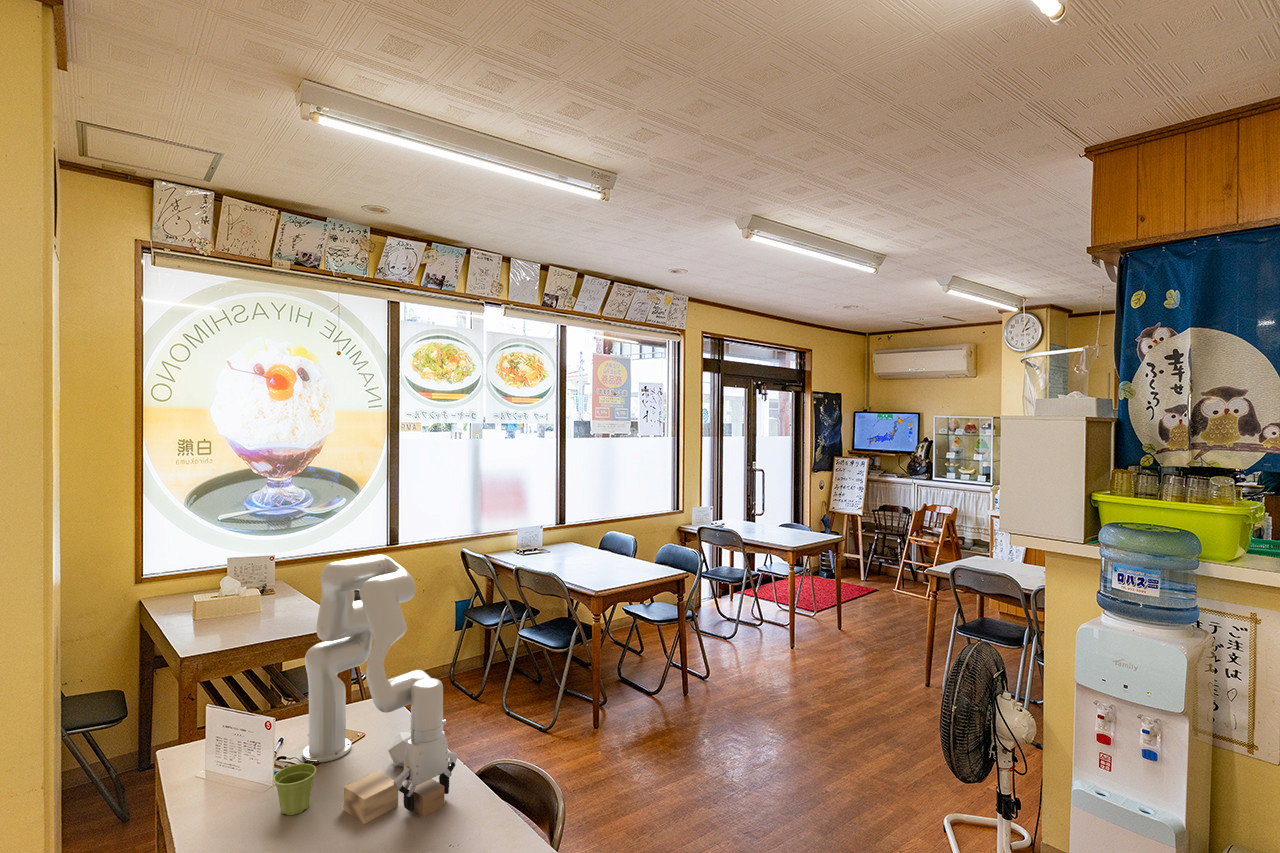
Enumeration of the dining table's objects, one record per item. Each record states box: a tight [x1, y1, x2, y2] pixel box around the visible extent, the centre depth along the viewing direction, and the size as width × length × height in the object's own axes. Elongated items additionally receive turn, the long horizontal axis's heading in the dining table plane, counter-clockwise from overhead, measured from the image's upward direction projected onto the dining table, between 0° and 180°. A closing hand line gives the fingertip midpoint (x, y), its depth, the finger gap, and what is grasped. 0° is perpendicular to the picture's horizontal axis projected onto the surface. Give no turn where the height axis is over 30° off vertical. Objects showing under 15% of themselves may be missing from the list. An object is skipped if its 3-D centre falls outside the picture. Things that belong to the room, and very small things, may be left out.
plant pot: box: [272, 763, 317, 816], centre depth 161 cm, size 9×9×9 cm
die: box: [387, 731, 411, 767], centre depth 182 cm, size 8×9×10 cm
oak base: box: [343, 770, 399, 825], centre depth 162 cm, size 9×9×6 cm
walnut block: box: [412, 778, 445, 818], centre depth 162 cm, size 6×6×5 cm
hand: (427, 800), depth 162 cm, fingers open, 9 cm apart
